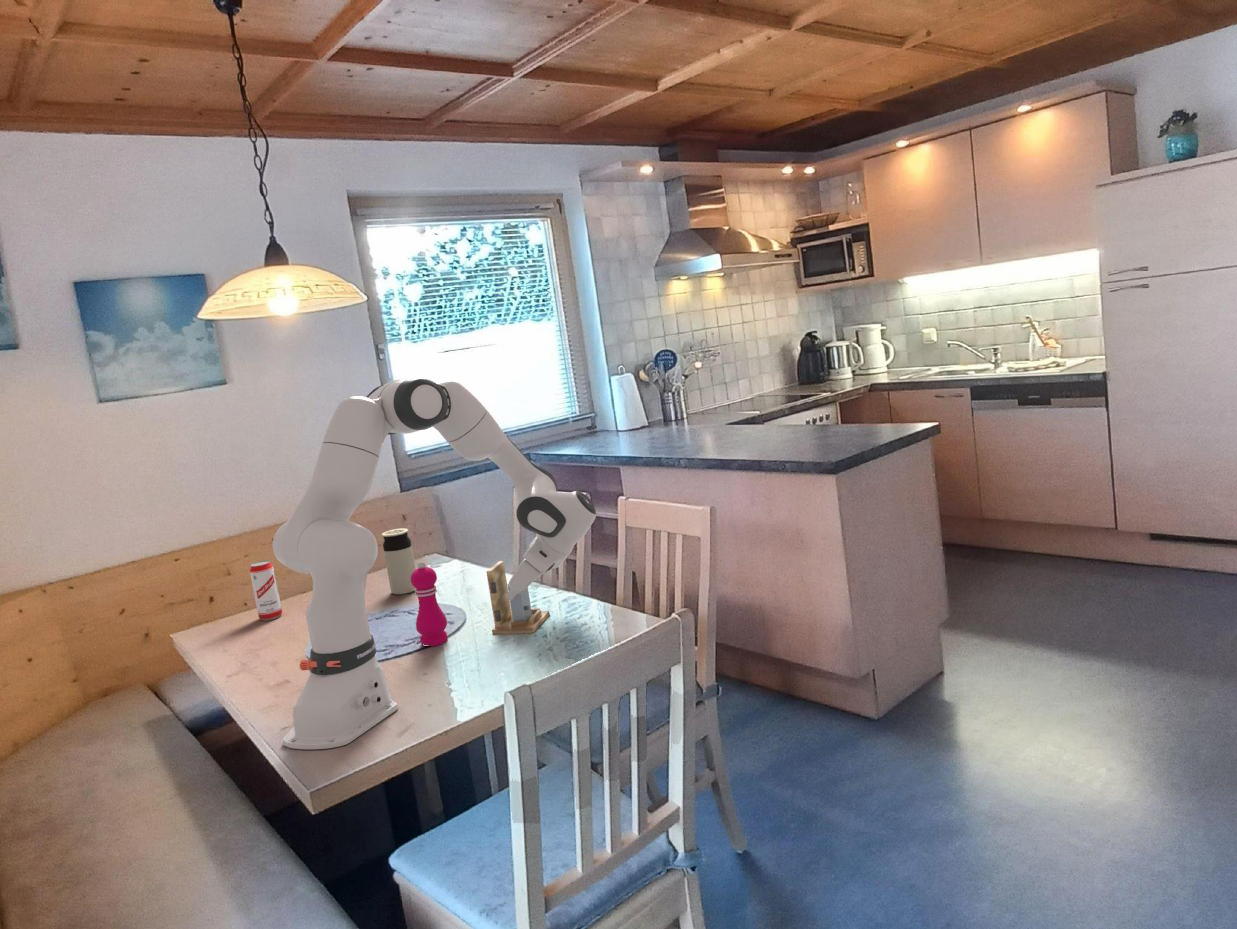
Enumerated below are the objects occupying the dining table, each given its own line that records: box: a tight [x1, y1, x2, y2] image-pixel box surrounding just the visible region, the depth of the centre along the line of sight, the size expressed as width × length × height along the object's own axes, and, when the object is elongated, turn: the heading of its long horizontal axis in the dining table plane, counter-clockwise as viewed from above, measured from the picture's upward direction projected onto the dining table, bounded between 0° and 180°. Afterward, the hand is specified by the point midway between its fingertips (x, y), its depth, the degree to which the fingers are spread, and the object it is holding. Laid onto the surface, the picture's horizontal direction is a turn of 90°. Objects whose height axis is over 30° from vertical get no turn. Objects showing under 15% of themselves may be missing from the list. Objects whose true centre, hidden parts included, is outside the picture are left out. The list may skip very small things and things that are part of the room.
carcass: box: [486, 560, 550, 635], centre depth 201 cm, size 12×10×15 cm
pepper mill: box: [411, 560, 448, 647], centre depth 196 cm, size 7×7×20 cm
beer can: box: [249, 560, 283, 622], centre depth 234 cm, size 6×6×16 cm
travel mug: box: [381, 527, 417, 596], centre depth 243 cm, size 8×8×18 cm
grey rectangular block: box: [507, 585, 532, 621], centre depth 201 cm, size 5×4×10 cm
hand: (516, 591), depth 201 cm, fingers open, 8 cm apart
